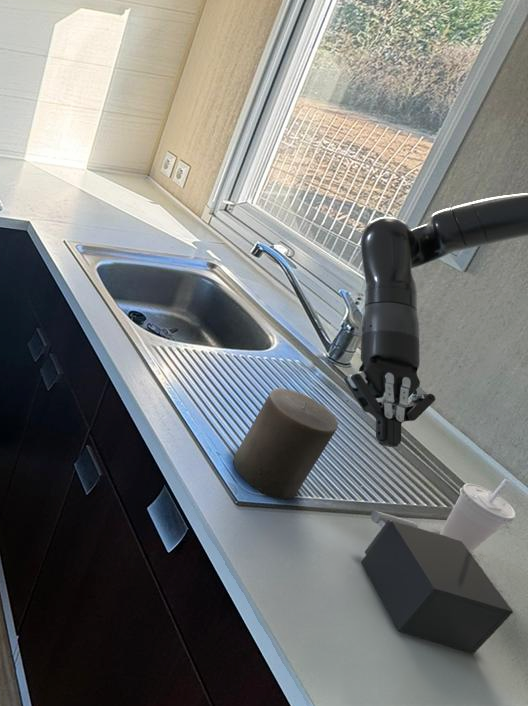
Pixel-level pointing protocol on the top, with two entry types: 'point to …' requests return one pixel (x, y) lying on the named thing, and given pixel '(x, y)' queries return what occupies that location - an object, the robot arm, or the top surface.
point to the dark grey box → (434, 588)
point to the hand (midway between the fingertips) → (388, 445)
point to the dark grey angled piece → (385, 521)
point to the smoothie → (477, 515)
